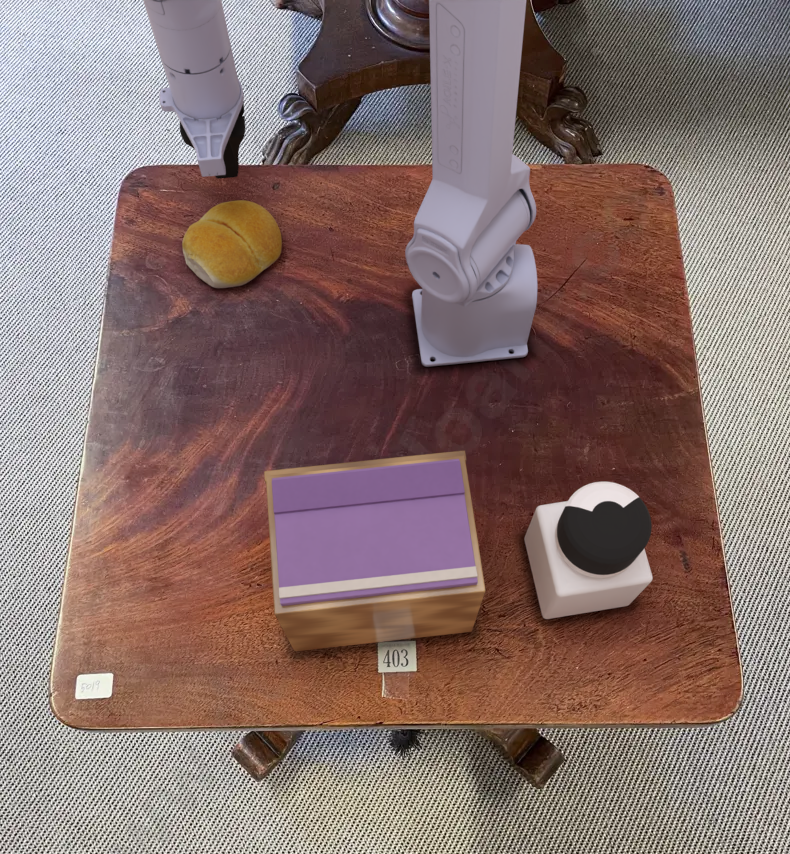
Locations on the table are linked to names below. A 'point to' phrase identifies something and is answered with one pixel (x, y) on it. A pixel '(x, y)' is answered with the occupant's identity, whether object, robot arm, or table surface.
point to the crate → (382, 612)
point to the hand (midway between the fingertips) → (226, 172)
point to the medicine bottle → (589, 550)
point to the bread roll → (232, 243)
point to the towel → (372, 532)
